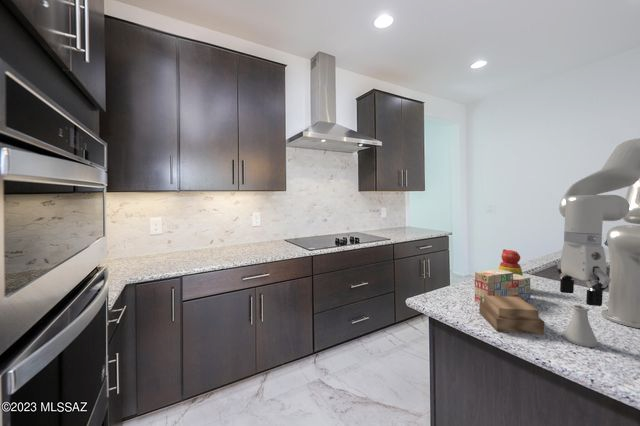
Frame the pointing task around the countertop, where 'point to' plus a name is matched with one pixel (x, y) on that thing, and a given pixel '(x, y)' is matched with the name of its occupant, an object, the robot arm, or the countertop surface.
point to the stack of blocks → (501, 284)
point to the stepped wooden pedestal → (511, 315)
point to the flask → (580, 328)
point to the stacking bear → (510, 262)
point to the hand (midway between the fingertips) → (579, 298)
